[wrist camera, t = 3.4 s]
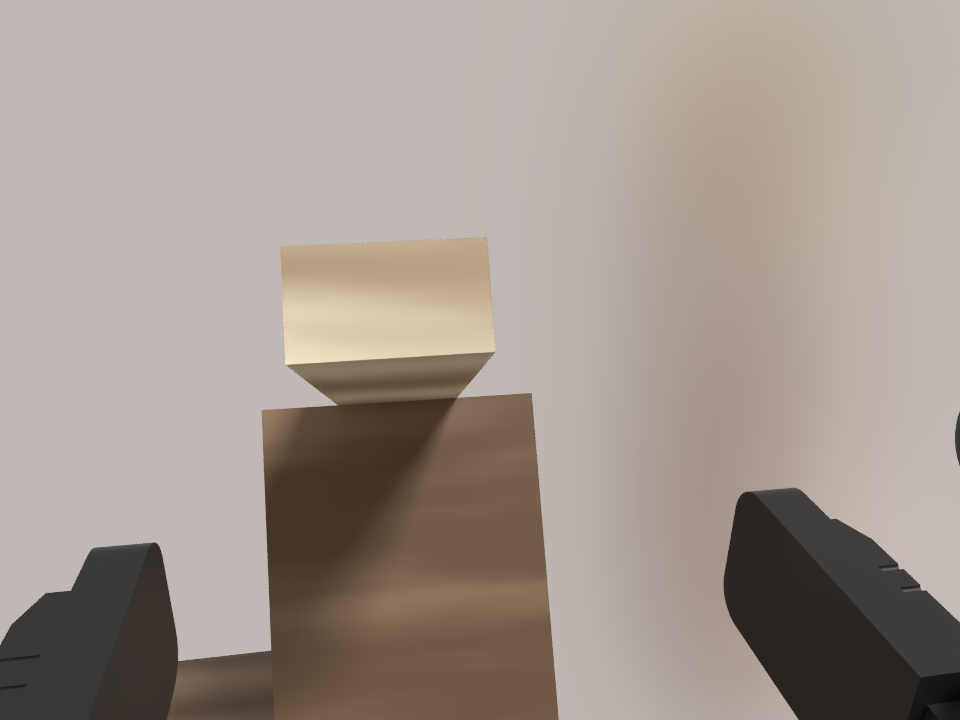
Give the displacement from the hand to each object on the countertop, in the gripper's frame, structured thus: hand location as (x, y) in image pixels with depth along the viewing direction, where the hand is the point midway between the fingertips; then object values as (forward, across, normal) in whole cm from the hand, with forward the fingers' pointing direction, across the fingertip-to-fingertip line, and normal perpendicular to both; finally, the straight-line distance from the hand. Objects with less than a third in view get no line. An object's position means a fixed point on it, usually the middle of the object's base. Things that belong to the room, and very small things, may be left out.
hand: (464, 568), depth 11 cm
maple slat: (+14, 0, +5) cm, 15 cm away
